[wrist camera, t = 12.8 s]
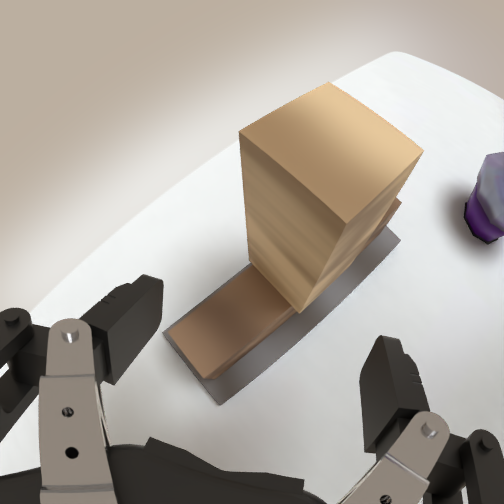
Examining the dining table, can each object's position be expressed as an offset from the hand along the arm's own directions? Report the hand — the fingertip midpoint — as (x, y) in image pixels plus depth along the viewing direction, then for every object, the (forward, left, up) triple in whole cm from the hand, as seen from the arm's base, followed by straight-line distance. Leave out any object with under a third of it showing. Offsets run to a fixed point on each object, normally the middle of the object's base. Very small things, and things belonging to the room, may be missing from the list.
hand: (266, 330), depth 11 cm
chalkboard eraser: (-5, -3, -13) cm, 14 cm away
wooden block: (-5, -3, -7) cm, 9 cm away
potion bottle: (-26, +6, -13) cm, 30 cm away
